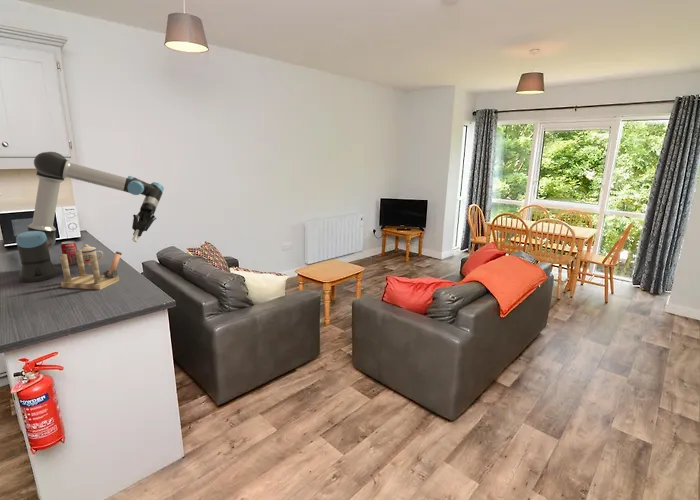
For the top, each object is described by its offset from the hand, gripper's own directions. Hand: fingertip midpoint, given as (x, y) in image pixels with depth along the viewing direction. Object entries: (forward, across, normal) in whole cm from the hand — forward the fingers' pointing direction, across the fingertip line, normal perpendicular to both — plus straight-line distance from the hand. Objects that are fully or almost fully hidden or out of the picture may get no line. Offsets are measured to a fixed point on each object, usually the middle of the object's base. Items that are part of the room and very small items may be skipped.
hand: (134, 240), depth 203 cm
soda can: (+8, +44, -16) cm, 48 cm away
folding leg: (+24, +1, +5) cm, 25 cm away
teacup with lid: (+7, +33, -17) cm, 38 cm away
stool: (+29, +9, +5) cm, 31 cm away
